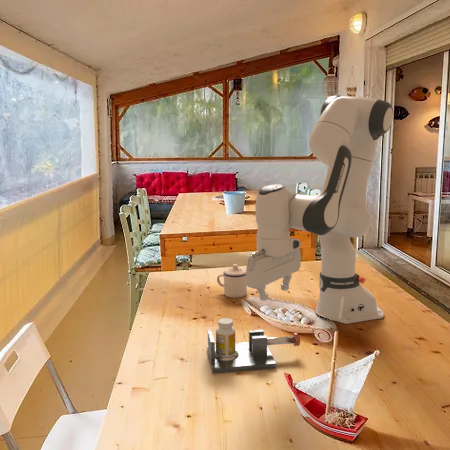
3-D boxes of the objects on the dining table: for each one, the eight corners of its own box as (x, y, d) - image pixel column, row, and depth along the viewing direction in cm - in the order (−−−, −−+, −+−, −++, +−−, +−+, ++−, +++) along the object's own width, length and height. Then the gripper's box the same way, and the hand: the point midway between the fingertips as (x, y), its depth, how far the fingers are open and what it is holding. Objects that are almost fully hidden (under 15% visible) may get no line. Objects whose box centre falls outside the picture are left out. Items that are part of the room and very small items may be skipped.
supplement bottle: (216, 358, 133) (216, 325, 131) (215, 349, 139) (214, 317, 137) (236, 357, 134) (236, 324, 132) (234, 348, 139) (233, 316, 137)
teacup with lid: (250, 291, 191) (250, 262, 189) (242, 299, 183) (242, 269, 180) (221, 288, 195) (221, 259, 193) (212, 295, 187) (212, 266, 184)
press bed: (264, 345, 145) (264, 321, 143) (276, 368, 131) (276, 342, 130) (207, 349, 142) (206, 325, 141) (212, 373, 129) (212, 347, 127)
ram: (296, 342, 140) (296, 330, 139) (299, 348, 137) (300, 335, 136) (251, 345, 138) (251, 333, 138) (253, 351, 135) (253, 339, 134)
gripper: (257, 256, 122) (259, 309, 125) (304, 239, 137) (305, 286, 140) (238, 253, 127) (241, 303, 130) (285, 236, 141) (287, 282, 144)
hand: (274, 294), depth 135 cm, fingers open, 8 cm apart
